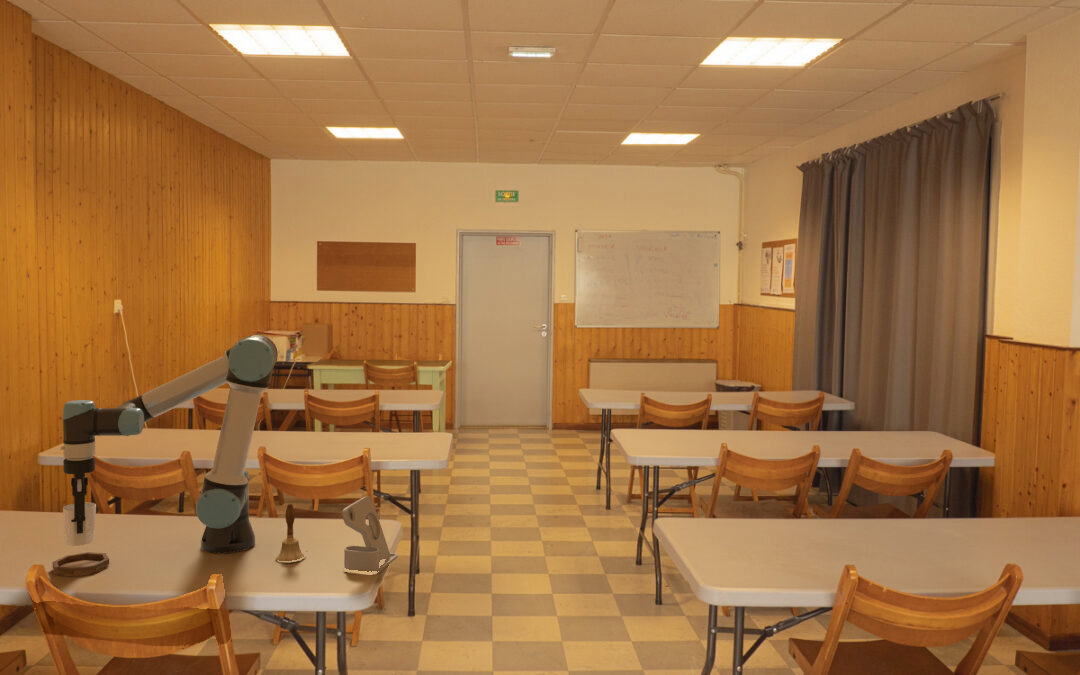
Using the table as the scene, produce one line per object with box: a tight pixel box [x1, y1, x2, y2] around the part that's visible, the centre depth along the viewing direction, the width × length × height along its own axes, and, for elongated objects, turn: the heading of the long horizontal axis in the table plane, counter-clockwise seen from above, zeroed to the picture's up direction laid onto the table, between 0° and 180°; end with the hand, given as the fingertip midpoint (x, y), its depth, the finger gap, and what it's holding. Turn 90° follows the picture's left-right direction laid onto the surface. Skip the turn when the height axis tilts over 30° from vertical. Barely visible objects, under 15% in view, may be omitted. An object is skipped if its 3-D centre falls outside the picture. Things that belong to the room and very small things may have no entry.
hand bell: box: [275, 503, 305, 561], centre depth 235 cm, size 8×8×16 cm
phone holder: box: [341, 495, 399, 572], centre depth 231 cm, size 17×10×18 cm, turn 167°
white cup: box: [62, 501, 97, 547], centre depth 223 cm, size 8×8×10 cm
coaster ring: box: [52, 551, 110, 577], centre depth 224 cm, size 13×13×2 cm
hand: (80, 539), depth 224 cm, fingers closed on white cup, 7 cm apart
